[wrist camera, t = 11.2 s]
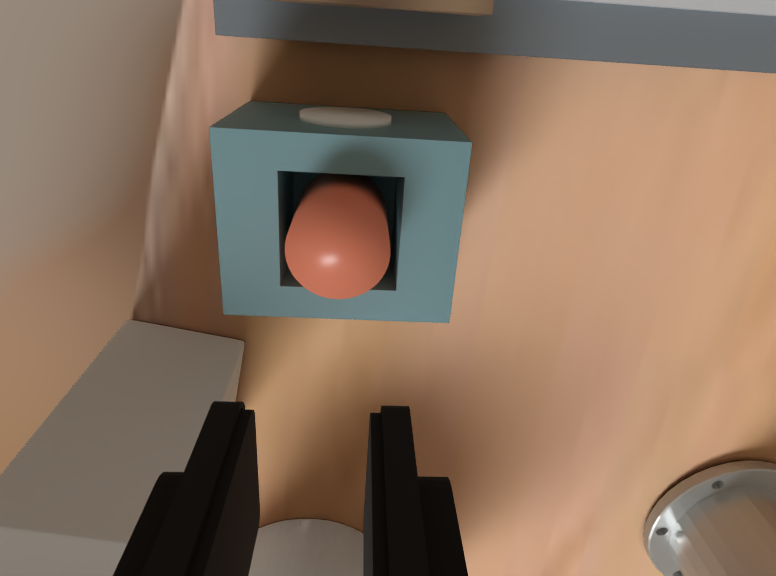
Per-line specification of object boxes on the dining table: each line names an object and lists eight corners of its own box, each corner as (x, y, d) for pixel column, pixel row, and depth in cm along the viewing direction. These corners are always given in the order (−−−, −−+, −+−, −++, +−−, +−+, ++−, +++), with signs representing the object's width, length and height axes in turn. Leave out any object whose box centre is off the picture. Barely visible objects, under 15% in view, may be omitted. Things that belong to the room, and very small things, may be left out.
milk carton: (127, 317, 33) (-135, 637, 16) (246, 339, 34) (123, 663, 16) (122, 410, 36) (-101, 765, 18) (232, 427, 37) (115, 780, 19)
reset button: (388, 171, 24) (394, 204, 20) (383, 253, 26) (387, 301, 22) (298, 166, 24) (283, 198, 20) (299, 249, 26) (285, 297, 21)
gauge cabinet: (445, 106, 28) (473, 134, 21) (430, 255, 32) (449, 322, 24) (249, 94, 27) (208, 118, 20) (256, 247, 31) (223, 314, 24)
